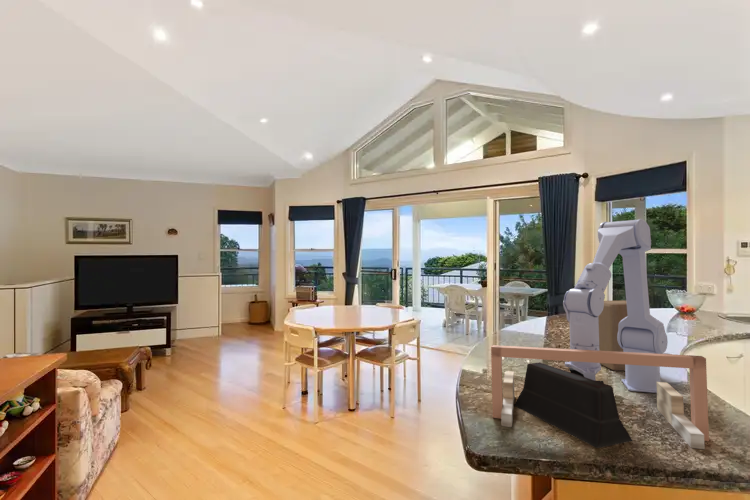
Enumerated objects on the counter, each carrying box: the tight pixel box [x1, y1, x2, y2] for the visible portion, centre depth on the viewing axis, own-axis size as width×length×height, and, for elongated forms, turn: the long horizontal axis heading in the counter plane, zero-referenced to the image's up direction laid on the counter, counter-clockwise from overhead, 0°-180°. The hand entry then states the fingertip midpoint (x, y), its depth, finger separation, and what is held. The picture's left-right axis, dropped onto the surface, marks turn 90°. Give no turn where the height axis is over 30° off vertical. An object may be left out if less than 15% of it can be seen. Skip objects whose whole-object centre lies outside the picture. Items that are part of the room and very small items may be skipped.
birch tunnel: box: [500, 370, 705, 450], centre depth 88 cm, size 20×34×6 cm, turn 70°
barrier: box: [514, 362, 633, 449], centre depth 86 cm, size 24×9×10 cm, turn 18°
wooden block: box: [598, 299, 628, 372], centre depth 128 cm, size 10×10×20 cm
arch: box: [490, 344, 710, 442], centre depth 83 cm, size 2×38×15 cm, turn 70°
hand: (586, 406), depth 90 cm, fingers open, 7 cm apart
